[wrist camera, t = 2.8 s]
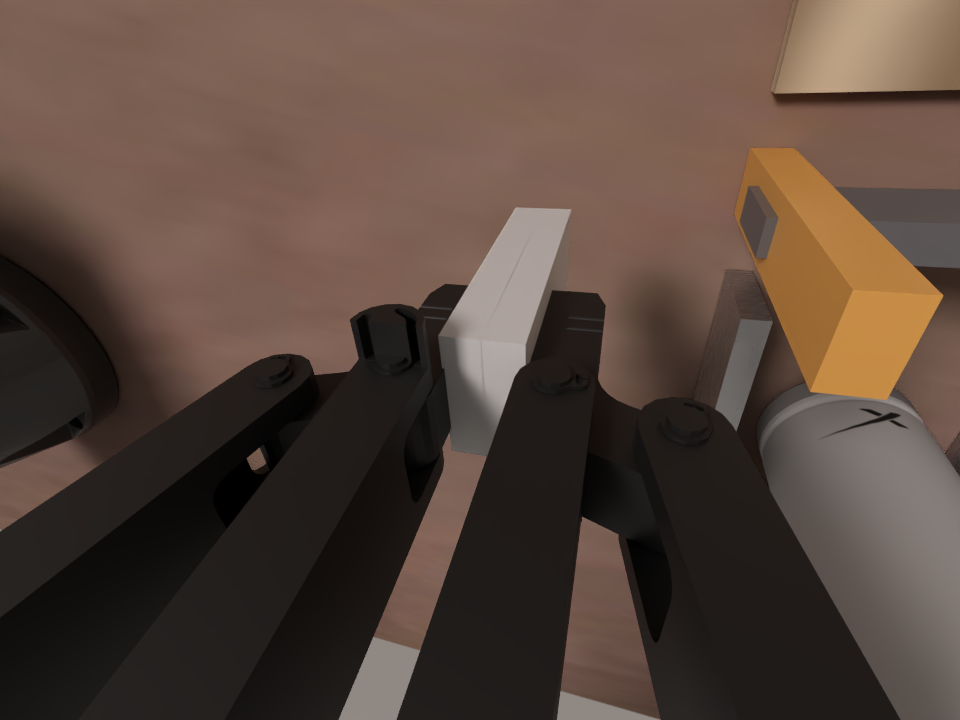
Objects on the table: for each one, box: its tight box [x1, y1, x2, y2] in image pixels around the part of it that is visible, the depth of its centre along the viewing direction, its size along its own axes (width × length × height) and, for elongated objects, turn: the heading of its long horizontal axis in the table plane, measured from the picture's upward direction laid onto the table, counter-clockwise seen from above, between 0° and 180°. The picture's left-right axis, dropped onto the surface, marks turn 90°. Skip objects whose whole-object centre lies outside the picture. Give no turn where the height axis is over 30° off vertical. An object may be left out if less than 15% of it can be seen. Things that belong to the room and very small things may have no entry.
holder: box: [693, 270, 960, 476], centre depth 21 cm, size 12×14×4 cm
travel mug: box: [756, 383, 960, 720], centre depth 15 cm, size 6×7×20 cm
